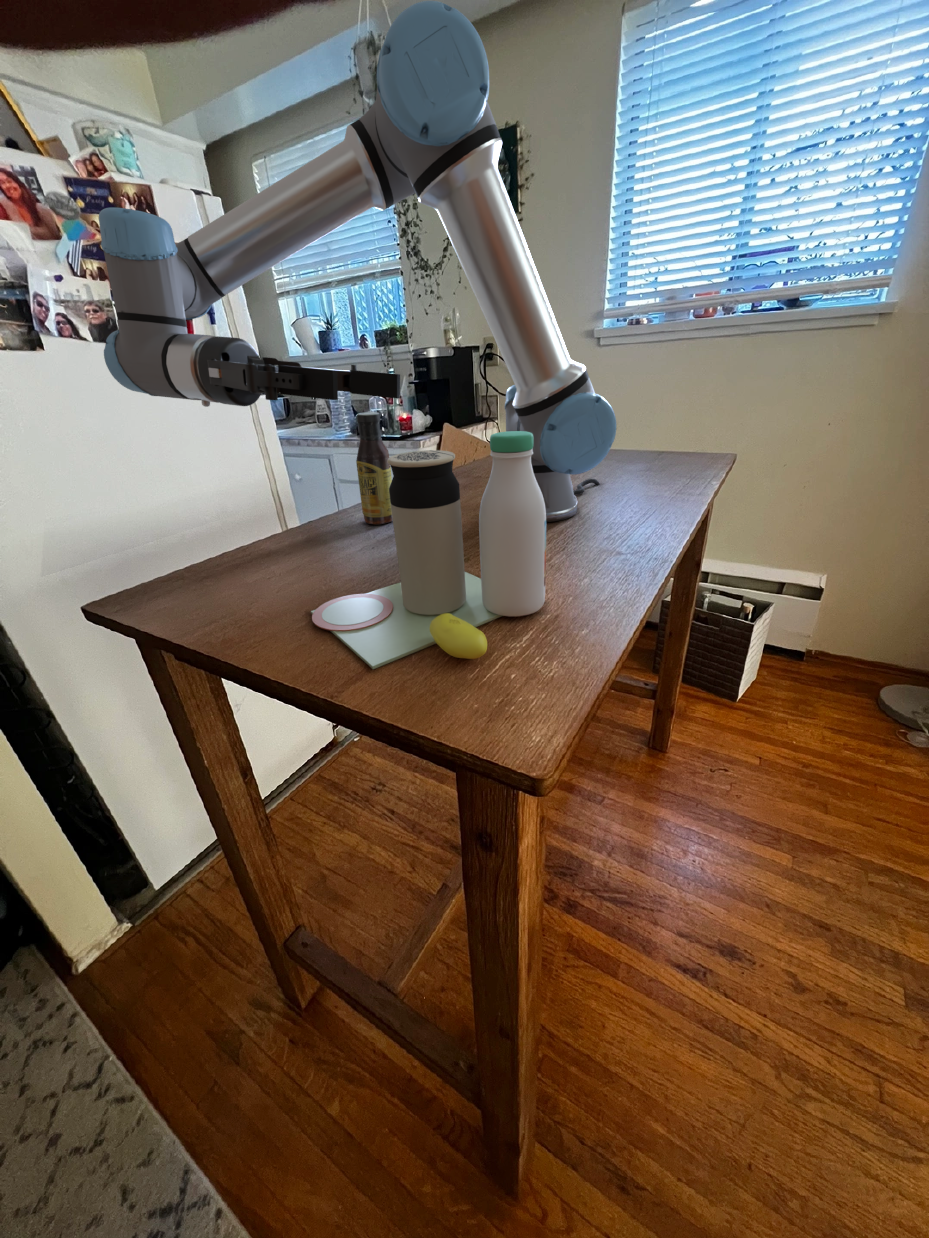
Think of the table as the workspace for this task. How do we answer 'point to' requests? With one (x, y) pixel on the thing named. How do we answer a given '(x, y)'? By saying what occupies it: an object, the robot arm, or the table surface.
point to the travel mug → (428, 531)
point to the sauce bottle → (373, 471)
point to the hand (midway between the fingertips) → (370, 386)
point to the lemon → (458, 637)
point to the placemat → (391, 622)
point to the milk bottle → (512, 529)
